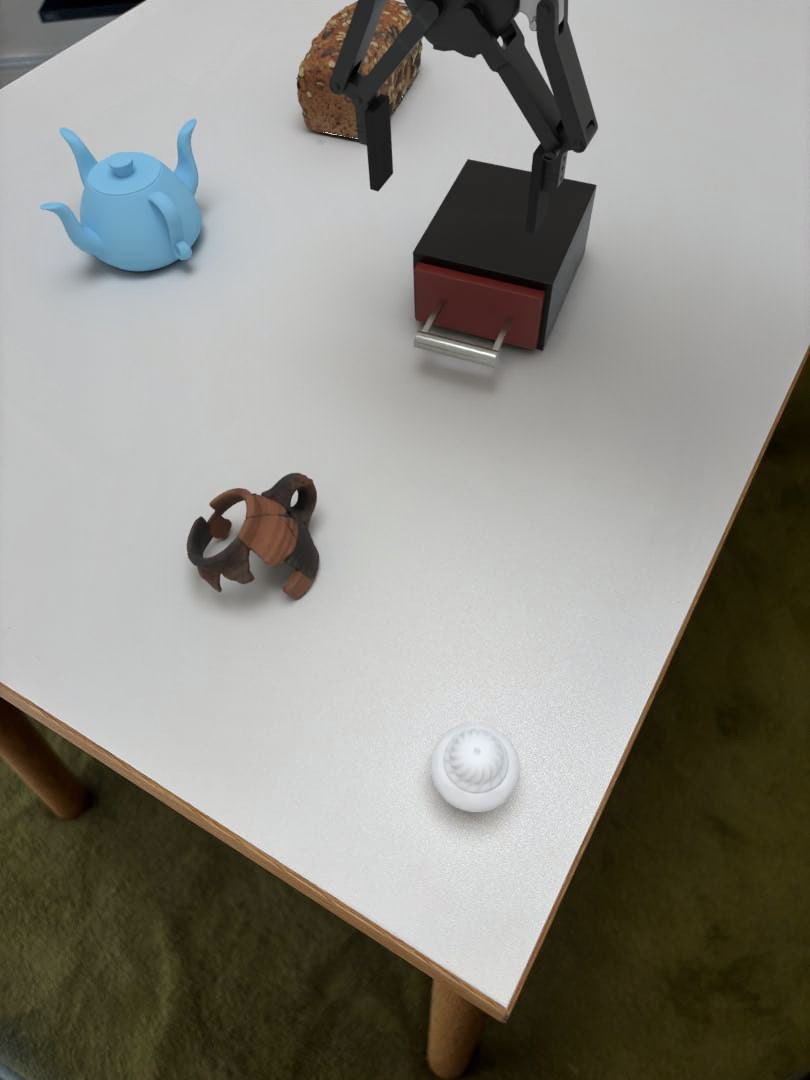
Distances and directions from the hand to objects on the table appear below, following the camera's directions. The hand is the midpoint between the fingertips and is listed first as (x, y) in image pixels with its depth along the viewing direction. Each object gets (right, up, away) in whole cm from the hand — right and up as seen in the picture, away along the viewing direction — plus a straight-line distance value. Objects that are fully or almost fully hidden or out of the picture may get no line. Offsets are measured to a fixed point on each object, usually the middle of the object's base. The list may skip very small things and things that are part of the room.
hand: (456, 202), depth 66 cm
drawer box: (+6, 0, +21) cm, 22 cm away
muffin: (+1, -45, -7) cm, 45 cm away
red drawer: (+4, -3, +18) cm, 19 cm away
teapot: (-34, +7, +28) cm, 45 cm away
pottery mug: (-16, -29, +4) cm, 33 cm away
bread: (-9, +30, +41) cm, 52 cm away
